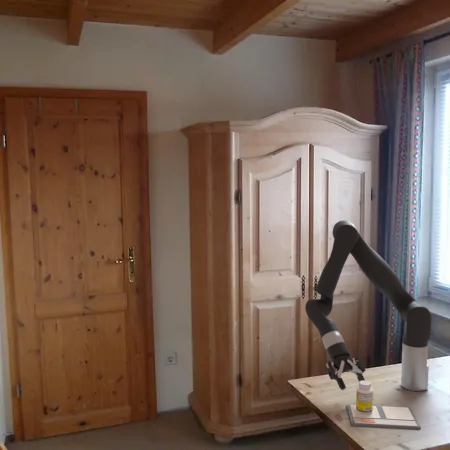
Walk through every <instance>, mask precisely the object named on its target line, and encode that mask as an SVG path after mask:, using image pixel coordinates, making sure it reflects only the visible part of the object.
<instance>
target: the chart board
mask: <svg viewBox="0 0 450 450" xmlns="http://www.w3.org/2000/svg"><path fill="white" fill-rule="evenodd" d="M346 409H347V412H348V417H349V419H350V421H349V422H350V424H351V426H355V427H356V426H357V427H369V428H371V427H372V428H388V429H389V428H391V429H405V430H406V429H407V430H408V429H409V430H421V428H422V427H421V424H420V423H419V421H418V419H417V416H415V414H414V412H413V409H412V408H411V407H410V406H395V405H394V406H393V405H392V406H390V405H374V404H373V411H372V413H370V414H362V413H360V412H358V411H357V409H356V403H354V404H350V403H346Z"/></svg>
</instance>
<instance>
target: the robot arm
mask: <svg viewBox="0 0 450 450" xmlns="http://www.w3.org/2000/svg"><path fill="white" fill-rule="evenodd" d="M332 237H333V245H332V248H331V252H330V255H329V258H328V259H327V262H326V264H325V265H324V267H323V269H322V271H321V274H320V276H319V279H318V281H317V284H316V287H315V291H316V293H317V294H318V295H320V298H317V299H316V298H311V299H309V300H307V301H306V303H305V307H304V309H305V313H306V316H307V317H308V318H309V320H310V321H311V323H312V324H313V325H314V327H315V328H316V329H317V330H318V333H319V335H320V338H321V339H322V343H323V346H324V348H325V351H326V352H327V355H328V357H329V361H327V363H325V368H326V372H327V374H328V377H329V379H330V380H331V381H333V380H335V381H336V382H337V385H338V388H339V389H340V390H341V391H345V389H346V388H347V387H346V384H345V381H344V380H343V378H342V374H344V373H349V372H350V373H351V374H354V375H355V376H356V379H357V381H358V383H359V382H360V381H363V380H364V381H366V379H365V377H364V375H363V374H364V373H365V372H366V368H365V366H364V364H363V362H362V361H361V358H360V357H359V356H357V355H356V357H353V358H352V357H351V355H350V353H351V352H350V351H349V349H348V345H347V344H346V342H345V339H344V338H343V336H342V334H341V333H340V331H339V329H338V326H337V324H336V323H335V320H333V319H331V318H329V317H328V316H329V315H330V314H331V312H332V311H333V306H334V305H333V304H334V294H335V290H336V289H337V286H338V283H339V280H340V278H341V274H342V271H343V268H344V266H345V264H346V262H347V260H348V258H349V256H350V255H351V256H352V257H353V259H354V260H355V262H356V263H357V265H358V266H359V268H360V270H361V271H362V272H363V273H364V276H365V277H366V278H367V279H368V280H369V281H370V283H372V285H373V286H374V287H375V288H376V289H377V290H378V291H379V292H380V293H381V294H383V296H384V297H386V298H387V300H389V302H391V304H392V305H393V306H394V308H395V309H396V311H397V313H398V314H399V315H400V316H401V318H402V319H403V321H404V322H405V323H406V327H405V334H403V336H402V347H401V348H402V349H401V350H402V351H401V375H400V377H401V378H400V385H401V387H402V388H404V389H406V390H408V391H412V392H413V391H414V392H421V391H428V390H429V389H428V388H429V365H428V351H429V350H428V349H429V347H428V345H429V340H430V338H431V330H432V329H431V328H432V315H431V314H432V313H431V311H430V309H428V308H427V306H425V305H423V304H422V303H420V302H419V301H418V300H417V299H415V298H414V297H413V296H412V295H411V294H410V292H408V291H407V290H406V289H405V287H404V286H403V284H402V282H401V280H400V278H399V277H398V276H397V273H396V272H395V271H394V270H393V269H392V267H391V266H390V265H389V264H388V262H386V260H384V258H382V256H381V255H379V253H378V252H377V251H375V250H374V249H373V248H372V247H371V246H370V245H369V244H368V243H367V241H366V240H365V239H364V238H363V236H362V235H361V233H360V232H359V230H358V228H357V227H356V226H355V224H353V223H352V222H351V221H348V220H339V221H337V222H336V223H335V224H334V225H333V227H332Z"/></svg>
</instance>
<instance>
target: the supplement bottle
mask: <svg viewBox="0 0 450 450" xmlns="http://www.w3.org/2000/svg"><path fill="white" fill-rule="evenodd" d="M355 394H356V398H355V399H356V401H355V402H356V403H355V405H356V409H357V411H358V412H360V413H362V414H370V413H372V411H373V405H374V389H373V387H372V383H371V382H370V381H368V380H365V381H364V380H363V381H360V382H359V381H358V386H357V387H356V393H355Z"/></svg>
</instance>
